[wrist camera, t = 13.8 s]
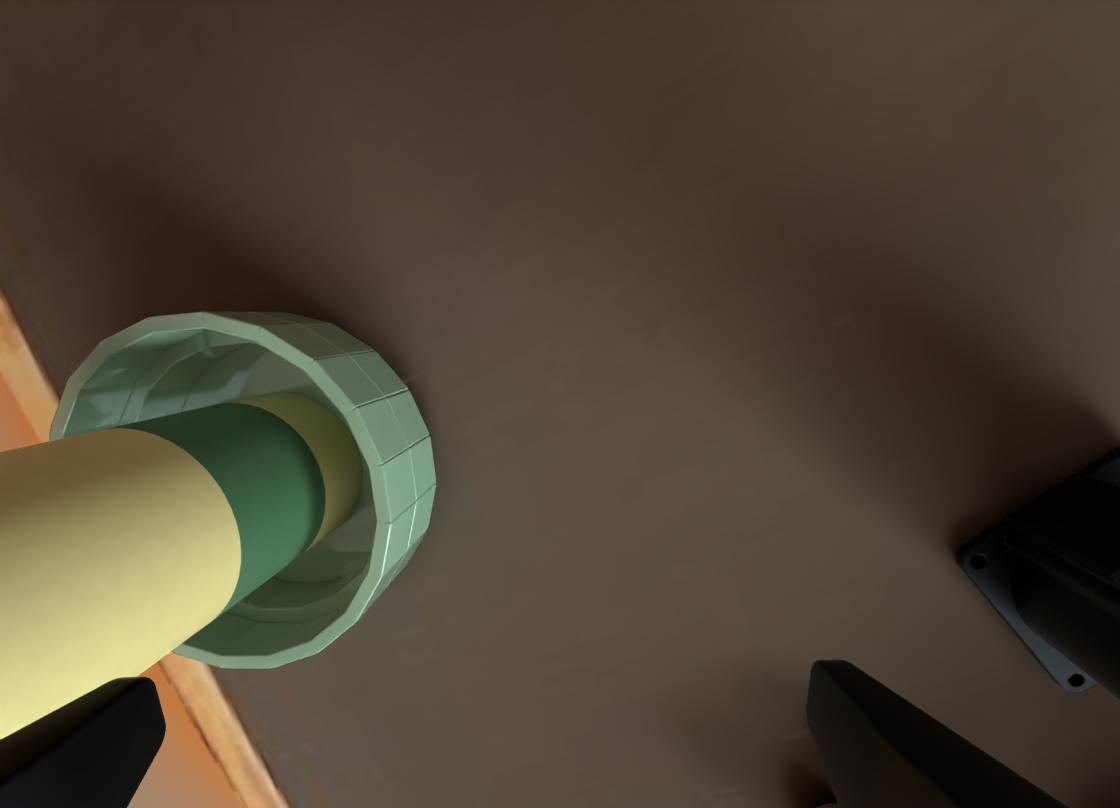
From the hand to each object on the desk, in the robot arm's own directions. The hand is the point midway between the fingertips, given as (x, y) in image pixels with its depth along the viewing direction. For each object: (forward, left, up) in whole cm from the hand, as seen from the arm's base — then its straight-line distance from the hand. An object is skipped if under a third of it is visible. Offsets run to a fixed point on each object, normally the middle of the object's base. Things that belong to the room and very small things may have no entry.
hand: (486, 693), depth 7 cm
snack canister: (+7, +9, -12) cm, 16 cm away
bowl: (+7, +9, -13) cm, 17 cm away
